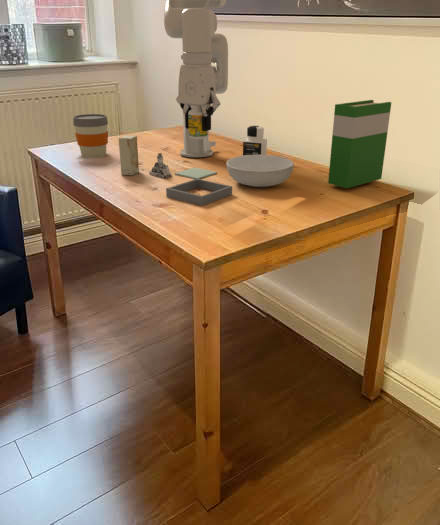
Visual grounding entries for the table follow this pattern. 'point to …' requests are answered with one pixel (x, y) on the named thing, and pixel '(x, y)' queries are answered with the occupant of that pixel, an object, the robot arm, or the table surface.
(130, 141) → the skincare box
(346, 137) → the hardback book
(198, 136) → the supplement bottle
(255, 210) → the table surface
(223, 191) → the grey square frame
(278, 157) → the serving bowl
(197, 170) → the place mat
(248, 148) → the medicine bottle
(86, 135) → the reusable coffee cup
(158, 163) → the grey building model
